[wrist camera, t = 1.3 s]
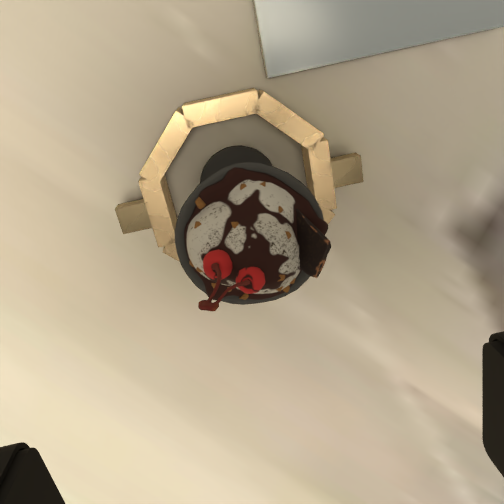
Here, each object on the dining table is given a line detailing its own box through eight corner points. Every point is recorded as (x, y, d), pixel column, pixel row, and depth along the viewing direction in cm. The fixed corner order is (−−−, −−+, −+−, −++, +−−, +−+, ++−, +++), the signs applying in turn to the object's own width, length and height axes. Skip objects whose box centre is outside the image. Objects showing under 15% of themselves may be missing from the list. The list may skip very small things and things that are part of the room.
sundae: (165, 195, 29) (124, 312, 15) (228, 109, 28) (245, 153, 14) (246, 251, 31) (273, 400, 17) (310, 174, 29) (396, 270, 16)
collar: (339, 69, 27) (351, 69, 25) (359, 239, 32) (371, 253, 29) (98, 121, 27) (87, 127, 25) (150, 284, 32) (146, 302, 29)
